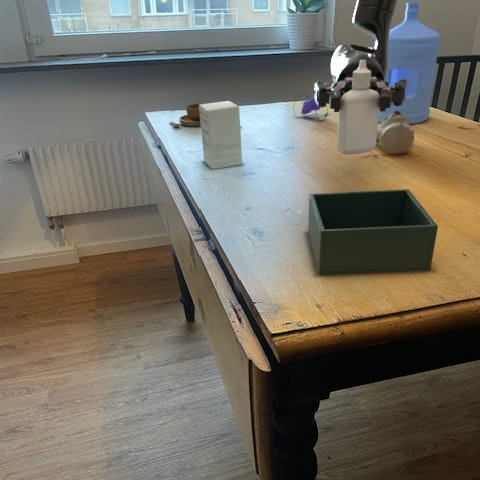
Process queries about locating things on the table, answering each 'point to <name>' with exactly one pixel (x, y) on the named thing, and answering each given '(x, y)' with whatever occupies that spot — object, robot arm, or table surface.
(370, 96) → the eye dropper bottle
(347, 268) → the storage bin
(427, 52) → the water jug
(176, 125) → the place setting
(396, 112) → the ceramic sculpture
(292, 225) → the table surface
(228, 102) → the white packaging box
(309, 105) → the game controller
